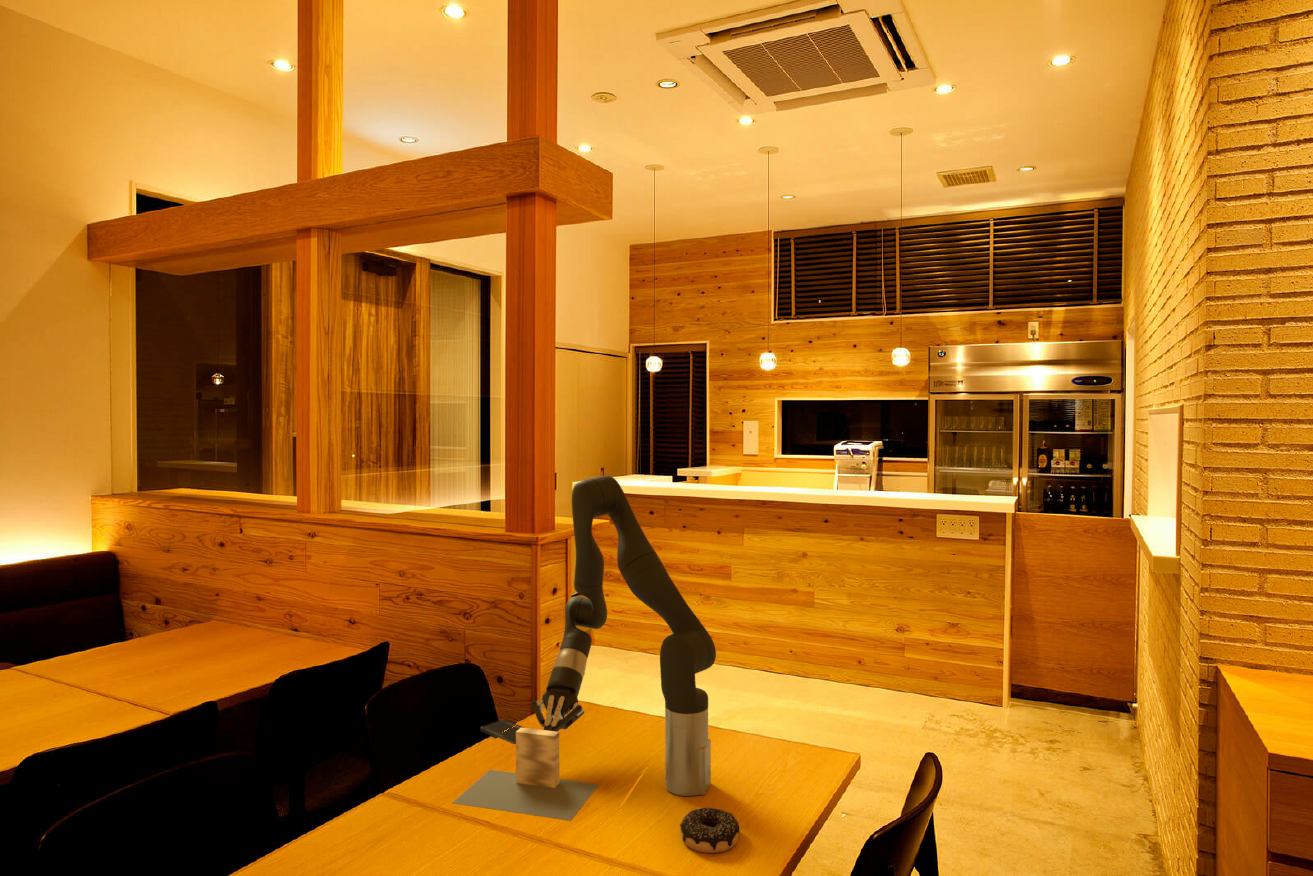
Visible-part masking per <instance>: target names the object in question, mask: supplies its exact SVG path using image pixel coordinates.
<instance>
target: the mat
mask: <svg viewBox="0 0 1313 876" xmlns="http://www.w3.org/2000/svg"><path fill="white" fill-rule="evenodd" d="M599 786H600V783H593V782H586V781H579V780H570V779H563V778H559V784H558V785H557V786H556V787H555V788H551V787H543V786H536V785H529V784H521V783H516V772H511V771H501V770H494V769H489V770H488V771H487V772H486V773H485V774H483V775H482V776H481V777H480V778H479V779H478V780H476V781H475V782H474V783H473V784H471V786H470V787H468V789H466V790H465V791H464V792H463V793H462V794H460V795H459V796H458V797H457V798H455V800H453V801H452V802H451V804H456V805H462V806H469V807H475V808H483V809H490V810H495V811H503V812H510V813H517V814H523V815H529V816H530V815H531V816H537V817H544V818H549V819H550V818H551V819H557V820H565V821H570V822H571V821H572V820H573V818H574V817H575V816H576V815H577V814H578V813H579V811H580V810H581V809H582V807H583V806H584V805H585V803H586V802H587V801H588V799H590V797H591V796H592V795H593V794H594V792H595V791H596V790H597V789H598V787H599Z"/></svg>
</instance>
